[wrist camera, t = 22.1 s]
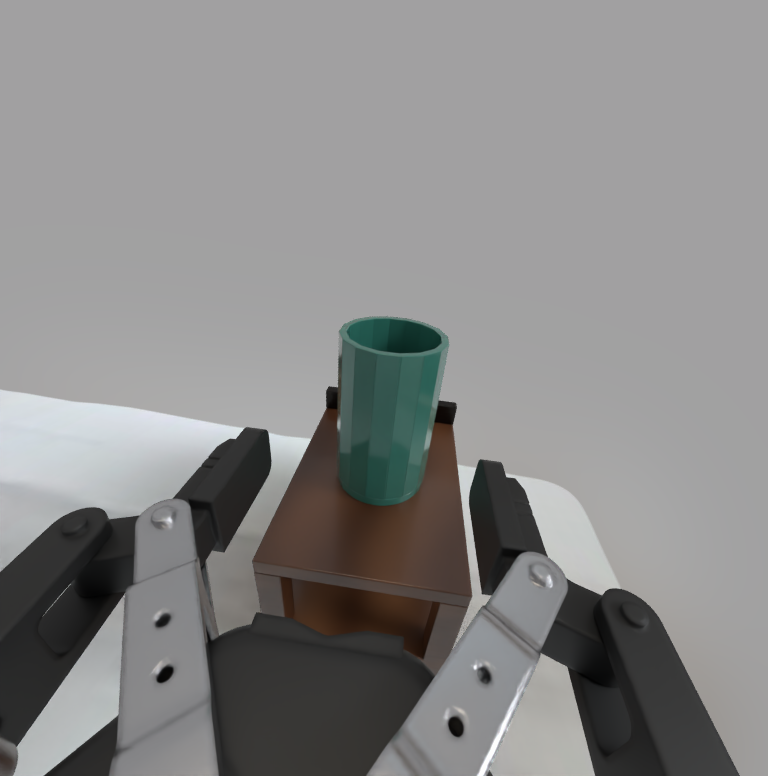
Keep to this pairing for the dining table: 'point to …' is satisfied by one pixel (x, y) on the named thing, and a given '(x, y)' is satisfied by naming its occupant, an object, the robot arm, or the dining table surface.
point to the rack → (370, 550)
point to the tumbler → (387, 405)
